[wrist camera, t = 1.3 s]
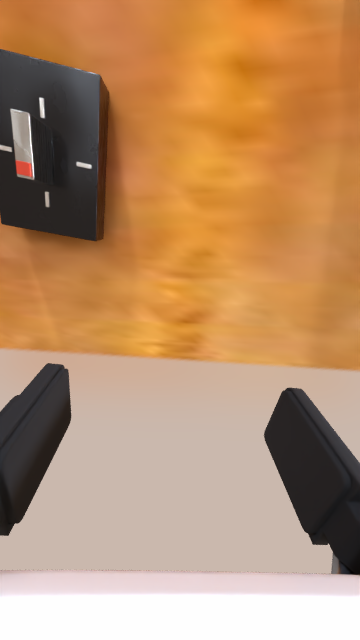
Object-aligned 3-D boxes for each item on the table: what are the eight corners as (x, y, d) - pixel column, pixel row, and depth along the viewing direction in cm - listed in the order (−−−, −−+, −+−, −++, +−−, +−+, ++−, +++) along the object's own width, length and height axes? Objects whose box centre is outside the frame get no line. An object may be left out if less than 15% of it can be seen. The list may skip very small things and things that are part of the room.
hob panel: (2, 65, 21) (-25, 40, 18) (109, 92, 22) (99, 73, 19) (18, 223, 27) (0, 224, 24) (103, 239, 28) (95, 241, 25)
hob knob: (35, 125, 21) (7, 106, 17) (51, 129, 21) (27, 111, 17) (39, 182, 22) (15, 176, 19) (53, 185, 23) (32, 179, 19)
